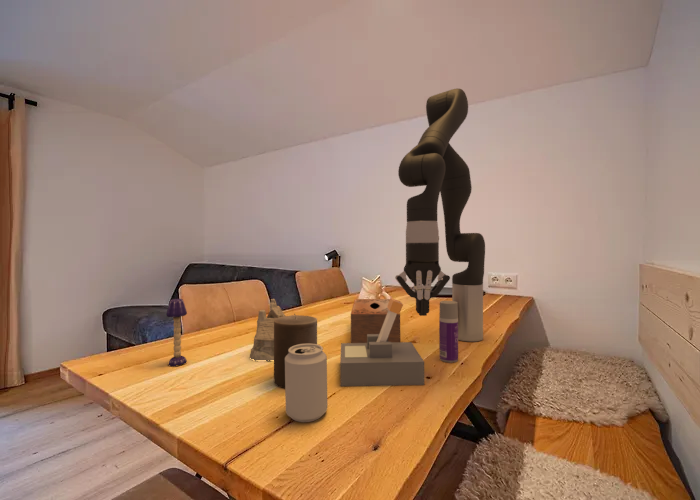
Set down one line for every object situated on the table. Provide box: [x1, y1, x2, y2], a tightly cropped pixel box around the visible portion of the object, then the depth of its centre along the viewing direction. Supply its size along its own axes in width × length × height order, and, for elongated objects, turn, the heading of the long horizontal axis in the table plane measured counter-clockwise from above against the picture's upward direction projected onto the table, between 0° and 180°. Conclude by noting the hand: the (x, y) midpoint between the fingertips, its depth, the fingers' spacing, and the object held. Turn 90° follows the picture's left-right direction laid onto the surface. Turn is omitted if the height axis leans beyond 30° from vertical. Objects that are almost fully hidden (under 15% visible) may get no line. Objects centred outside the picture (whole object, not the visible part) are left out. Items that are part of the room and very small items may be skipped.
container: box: [438, 300, 459, 364], centre depth 86 cm, size 5×5×15 cm
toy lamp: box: [166, 298, 188, 367], centre depth 85 cm, size 5×5×17 cm
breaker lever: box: [376, 297, 404, 342], centre depth 78 cm, size 4×2×12 cm, turn 1°
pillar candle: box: [273, 313, 318, 389], centre depth 75 cm, size 10×10×15 cm
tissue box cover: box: [350, 298, 401, 343], centre depth 110 cm, size 26×14×10 cm, turn 177°
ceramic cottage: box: [249, 298, 286, 362], centre depth 93 cm, size 16×16×15 cm
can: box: [284, 343, 328, 423], centre depth 60 cm, size 8×8×12 cm
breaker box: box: [339, 334, 425, 387], centre depth 78 cm, size 14×18×8 cm
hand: (422, 314), depth 78 cm, fingers closed
